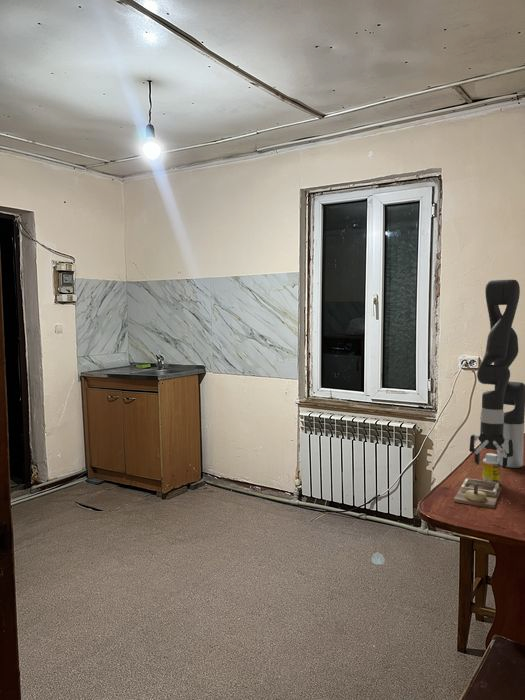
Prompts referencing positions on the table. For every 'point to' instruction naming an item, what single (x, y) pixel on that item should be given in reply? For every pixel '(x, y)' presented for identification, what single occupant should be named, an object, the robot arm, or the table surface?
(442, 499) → the table surface
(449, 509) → the table surface
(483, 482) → the board
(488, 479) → the supplement bottle
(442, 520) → the table surface
